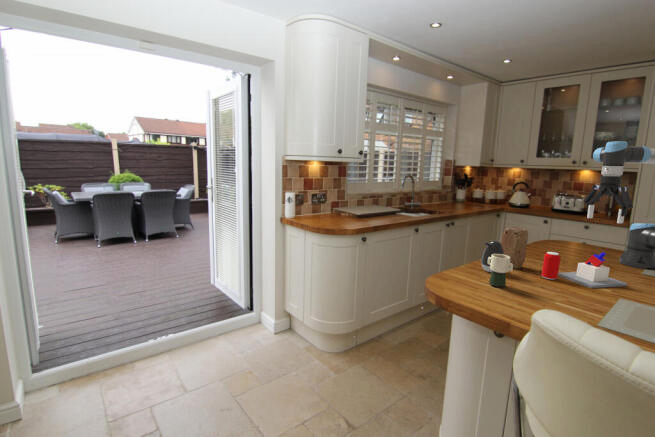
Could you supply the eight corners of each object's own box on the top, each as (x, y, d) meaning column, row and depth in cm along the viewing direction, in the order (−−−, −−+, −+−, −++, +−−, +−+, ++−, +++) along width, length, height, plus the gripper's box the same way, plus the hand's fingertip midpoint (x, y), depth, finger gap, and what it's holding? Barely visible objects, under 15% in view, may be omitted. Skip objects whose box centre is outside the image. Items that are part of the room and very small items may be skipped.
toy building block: (593, 269, 147) (606, 256, 143) (584, 263, 150) (596, 250, 146) (597, 268, 149) (610, 255, 145) (588, 262, 152) (600, 249, 147)
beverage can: (555, 277, 152) (559, 252, 150) (558, 281, 147) (562, 255, 145) (540, 275, 155) (544, 250, 153) (542, 279, 149) (546, 253, 147)
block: (525, 268, 163) (531, 229, 160) (514, 270, 160) (520, 230, 157) (505, 262, 173) (510, 225, 170) (495, 263, 170) (500, 226, 167)
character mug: (514, 288, 136) (518, 258, 134) (504, 291, 132) (508, 260, 130) (490, 280, 145) (494, 251, 143) (480, 282, 142) (483, 253, 139)
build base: (590, 273, 160) (593, 259, 159) (626, 285, 144) (630, 270, 143) (557, 275, 155) (559, 260, 154) (590, 288, 140) (593, 272, 139)
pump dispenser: (475, 267, 162) (479, 237, 159) (495, 267, 163) (499, 238, 160) (487, 274, 152) (491, 243, 149) (508, 275, 153) (512, 243, 150)
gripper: (578, 174, 163) (572, 216, 167) (636, 176, 139) (627, 225, 143) (590, 174, 165) (584, 215, 169) (649, 176, 141) (640, 225, 145)
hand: (604, 220), depth 156 cm, fingers open, 13 cm apart
